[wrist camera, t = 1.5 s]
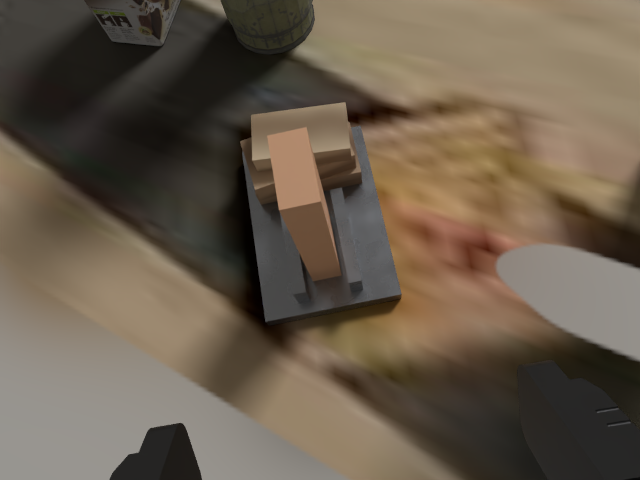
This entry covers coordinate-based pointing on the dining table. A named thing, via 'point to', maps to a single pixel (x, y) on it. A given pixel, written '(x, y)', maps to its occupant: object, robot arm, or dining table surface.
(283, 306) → the rack
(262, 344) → the dining table surface
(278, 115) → the offcut pile
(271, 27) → the thermos
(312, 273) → the board
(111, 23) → the coffee box
